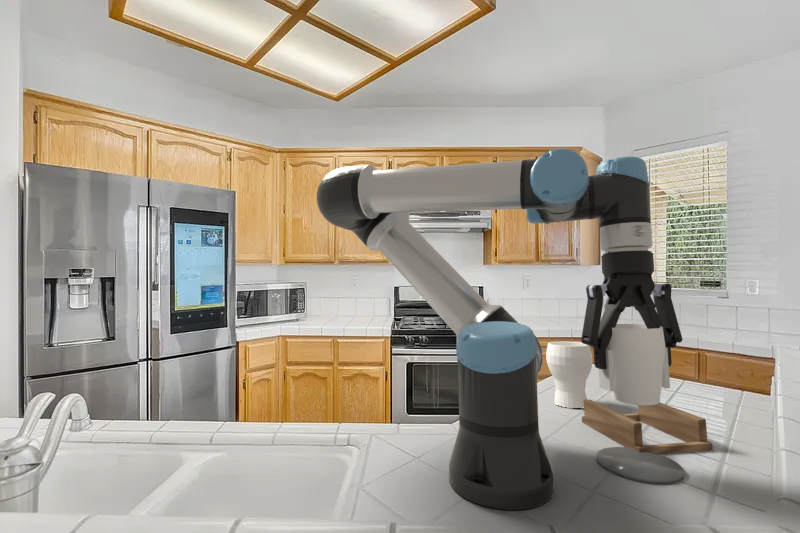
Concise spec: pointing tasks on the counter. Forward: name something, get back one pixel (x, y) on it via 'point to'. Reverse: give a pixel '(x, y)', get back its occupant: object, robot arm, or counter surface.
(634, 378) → the cup
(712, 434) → the counter surface
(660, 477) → the trivet
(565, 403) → the cup
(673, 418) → the cradle
